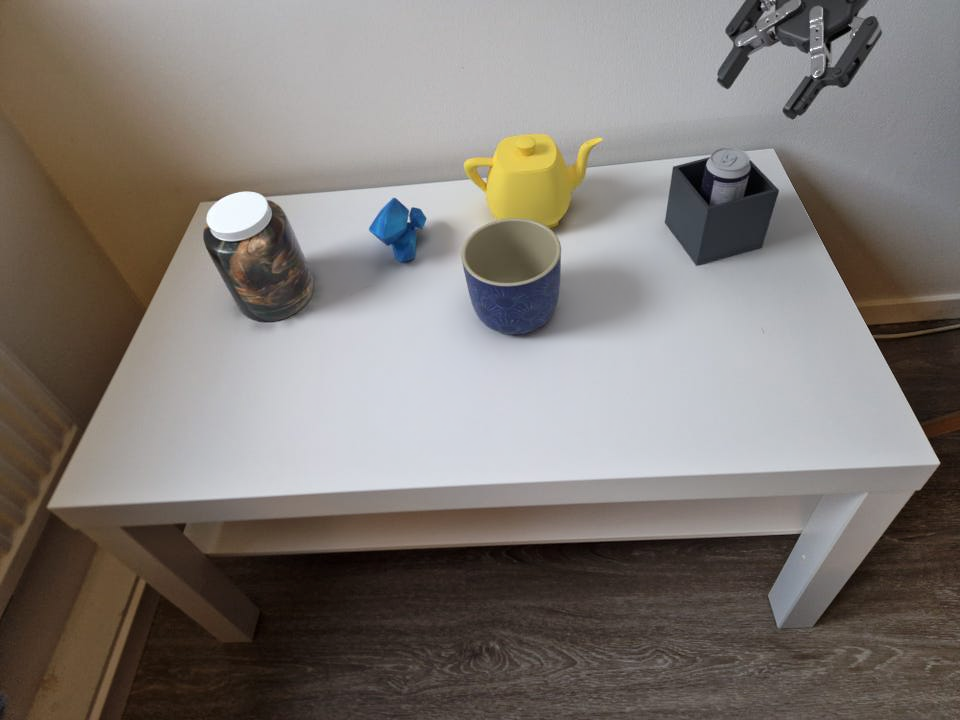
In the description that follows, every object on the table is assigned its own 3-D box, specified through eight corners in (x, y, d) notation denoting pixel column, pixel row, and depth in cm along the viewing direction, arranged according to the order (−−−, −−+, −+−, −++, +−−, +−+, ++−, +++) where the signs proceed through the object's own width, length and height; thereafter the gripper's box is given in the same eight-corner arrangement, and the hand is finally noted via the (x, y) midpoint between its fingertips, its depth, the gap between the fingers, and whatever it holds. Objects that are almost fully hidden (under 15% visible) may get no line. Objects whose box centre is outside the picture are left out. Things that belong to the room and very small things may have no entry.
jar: (220, 306, 97) (173, 226, 85) (273, 256, 103) (235, 175, 91) (280, 332, 92) (238, 252, 81) (331, 278, 98) (300, 196, 86)
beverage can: (741, 225, 95) (760, 153, 86) (724, 248, 93) (741, 176, 83) (704, 212, 98) (719, 140, 88) (686, 234, 95) (699, 163, 86)
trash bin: (726, 205, 99) (740, 148, 92) (762, 247, 93) (779, 190, 85) (664, 222, 98) (672, 166, 91) (696, 265, 92) (707, 209, 84)
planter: (461, 291, 94) (450, 231, 85) (544, 269, 95) (542, 207, 86) (484, 355, 86) (475, 296, 77) (574, 330, 87) (575, 269, 79)
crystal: (426, 184, 99) (414, 220, 89) (433, 236, 104) (422, 275, 95) (378, 186, 100) (360, 222, 90) (387, 238, 105) (372, 277, 96)
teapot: (604, 234, 98) (608, 162, 88) (470, 244, 100) (460, 175, 90) (594, 179, 106) (597, 108, 97) (471, 189, 108) (461, 121, 98)
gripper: (787, -94, 65) (688, 62, 71) (924, -61, 57) (801, 112, 63) (807, -52, 71) (714, 90, 76) (935, -16, 63) (821, 139, 68)
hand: (753, 100), depth 70 cm, fingers open, 8 cm apart
